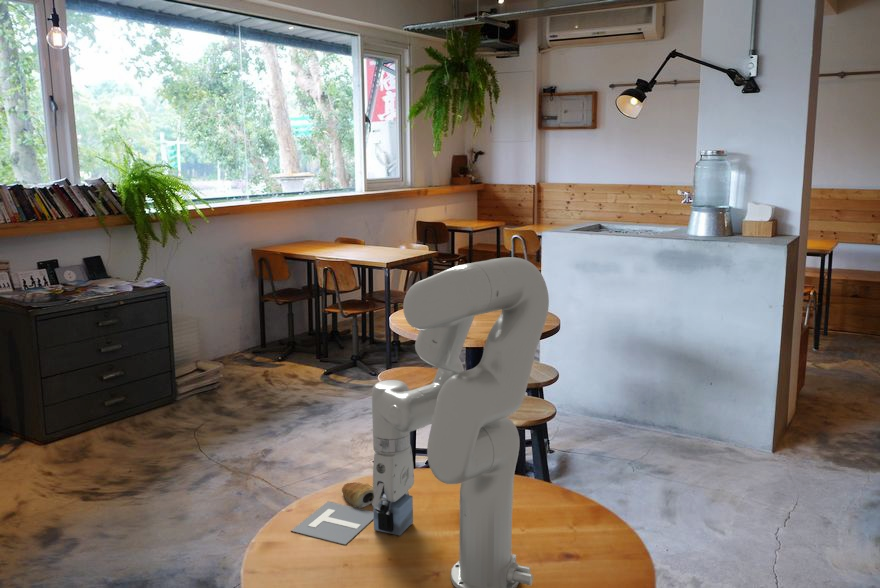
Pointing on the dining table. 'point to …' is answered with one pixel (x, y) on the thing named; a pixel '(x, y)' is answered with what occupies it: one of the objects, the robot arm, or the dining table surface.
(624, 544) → the dining table surface
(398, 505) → the slate blue cube
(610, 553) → the dining table surface
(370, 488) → the pastry
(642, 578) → the dining table surface
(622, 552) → the dining table surface
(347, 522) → the board
